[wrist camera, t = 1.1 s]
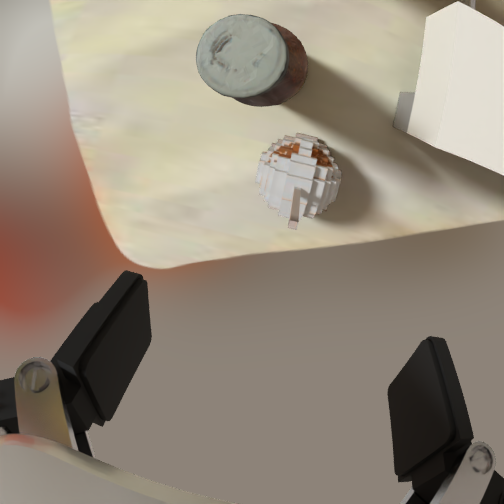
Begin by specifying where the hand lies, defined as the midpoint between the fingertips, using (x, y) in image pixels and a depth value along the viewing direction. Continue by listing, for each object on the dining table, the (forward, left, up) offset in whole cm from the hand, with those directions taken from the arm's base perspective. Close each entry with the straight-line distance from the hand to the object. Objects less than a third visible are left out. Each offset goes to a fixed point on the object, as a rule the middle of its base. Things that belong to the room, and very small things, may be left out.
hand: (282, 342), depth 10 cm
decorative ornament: (+1, 0, -27) cm, 27 cm away
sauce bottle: (-9, -4, -26) cm, 28 cm away
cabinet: (-12, +20, -26) cm, 35 cm away
